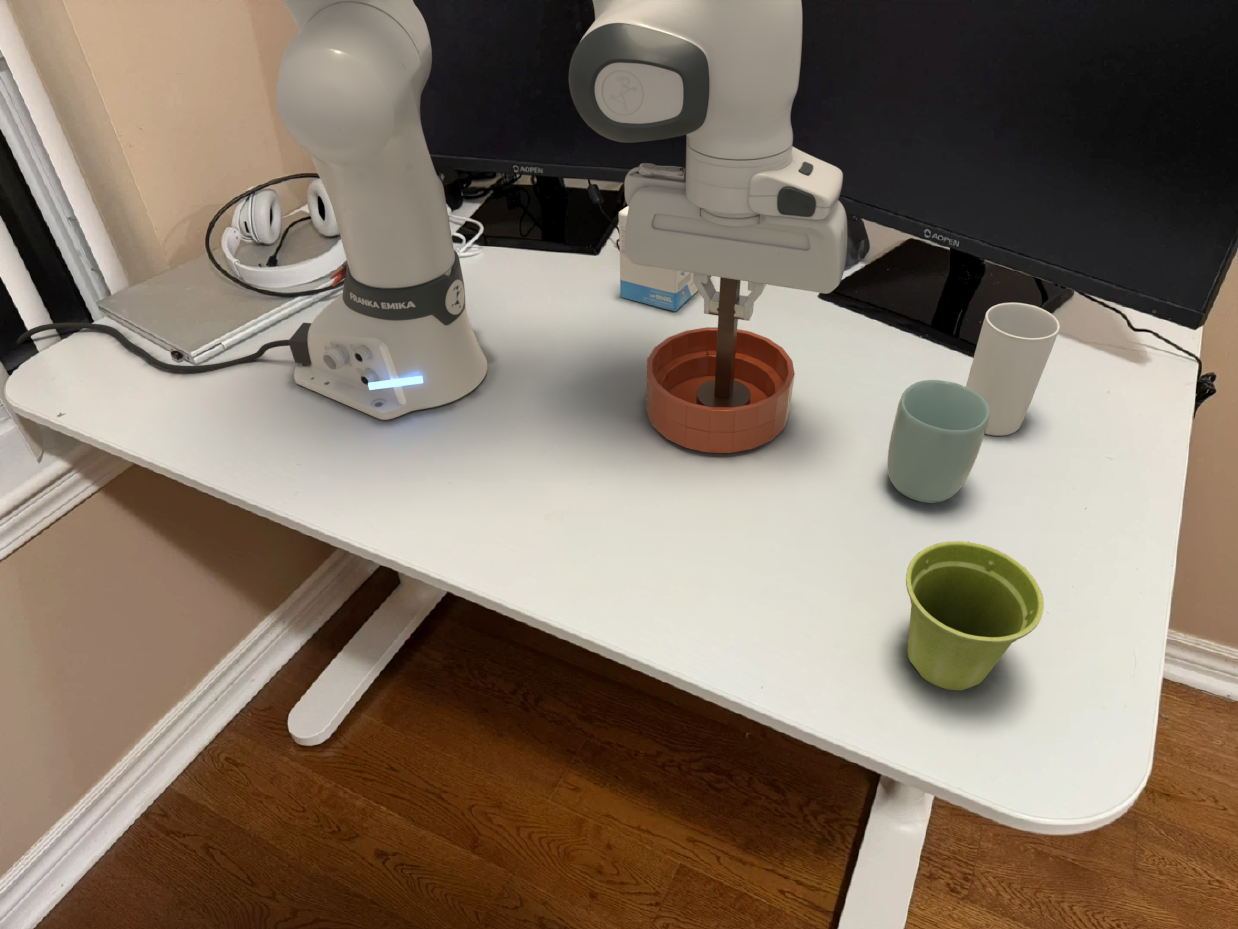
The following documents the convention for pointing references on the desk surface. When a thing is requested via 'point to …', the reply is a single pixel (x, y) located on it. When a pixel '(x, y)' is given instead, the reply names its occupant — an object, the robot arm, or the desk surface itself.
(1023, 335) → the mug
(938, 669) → the plant pot
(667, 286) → the ink box
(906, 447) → the cup
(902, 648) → the desk surface
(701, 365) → the bowl
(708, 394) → the brown post stand
